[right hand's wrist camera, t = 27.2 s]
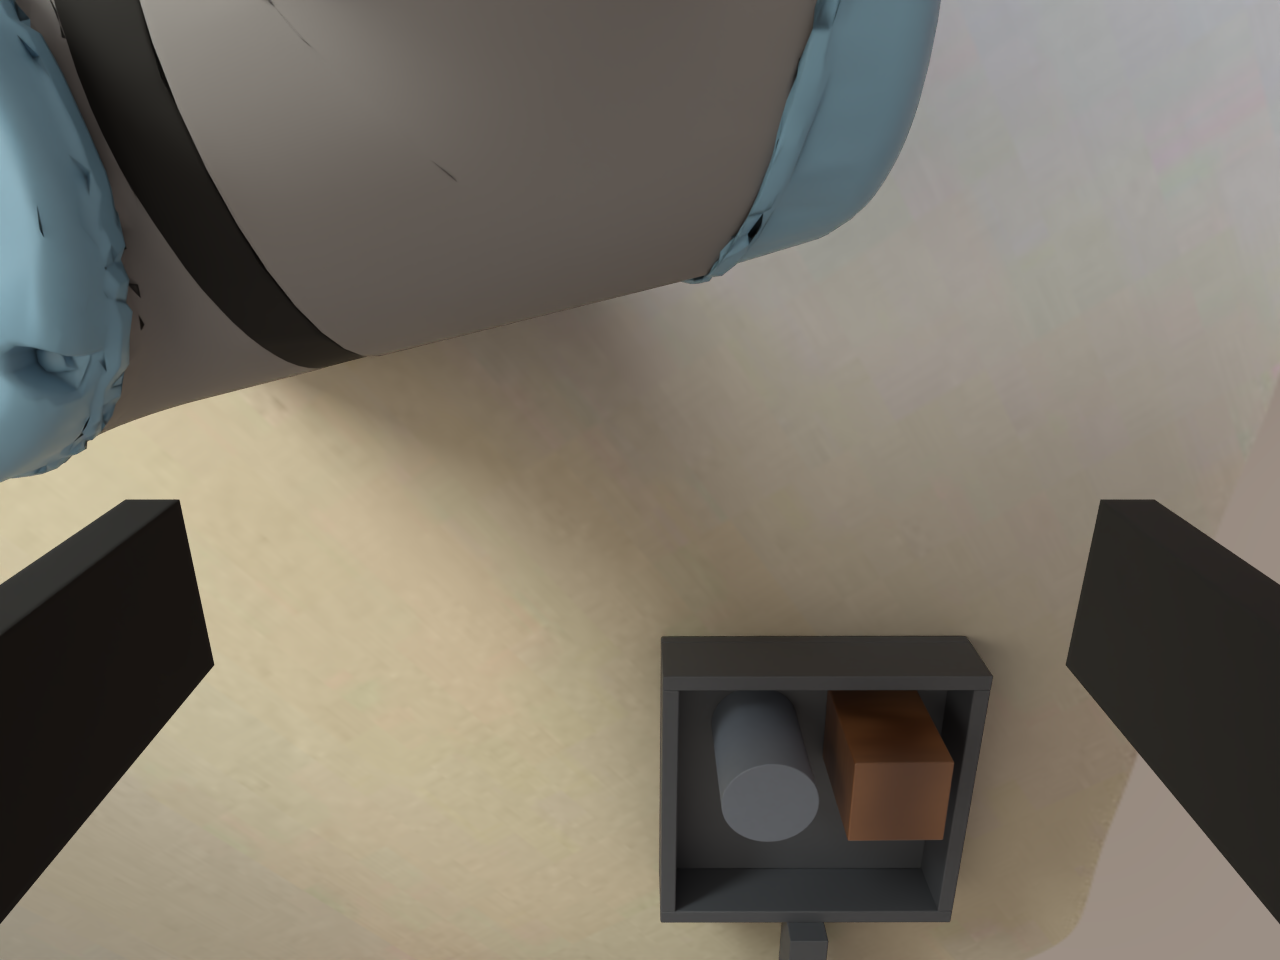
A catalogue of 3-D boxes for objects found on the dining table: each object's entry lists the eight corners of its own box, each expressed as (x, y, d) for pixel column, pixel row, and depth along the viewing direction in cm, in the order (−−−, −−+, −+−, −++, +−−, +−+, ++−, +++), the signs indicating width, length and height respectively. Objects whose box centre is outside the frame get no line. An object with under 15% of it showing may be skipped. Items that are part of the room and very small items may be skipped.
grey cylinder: (710, 757, 46) (719, 842, 40) (712, 686, 44) (723, 764, 38) (794, 757, 46) (815, 842, 40) (799, 686, 44) (823, 764, 38)
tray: (661, 636, 44) (663, 691, 39) (966, 635, 44) (1003, 690, 39) (658, 989, 53) (659, 1066, 48) (910, 989, 53) (935, 1066, 48)
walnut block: (821, 756, 46) (847, 841, 40) (827, 685, 44) (854, 763, 38) (906, 755, 46) (943, 840, 40) (914, 684, 44) (955, 762, 38)
